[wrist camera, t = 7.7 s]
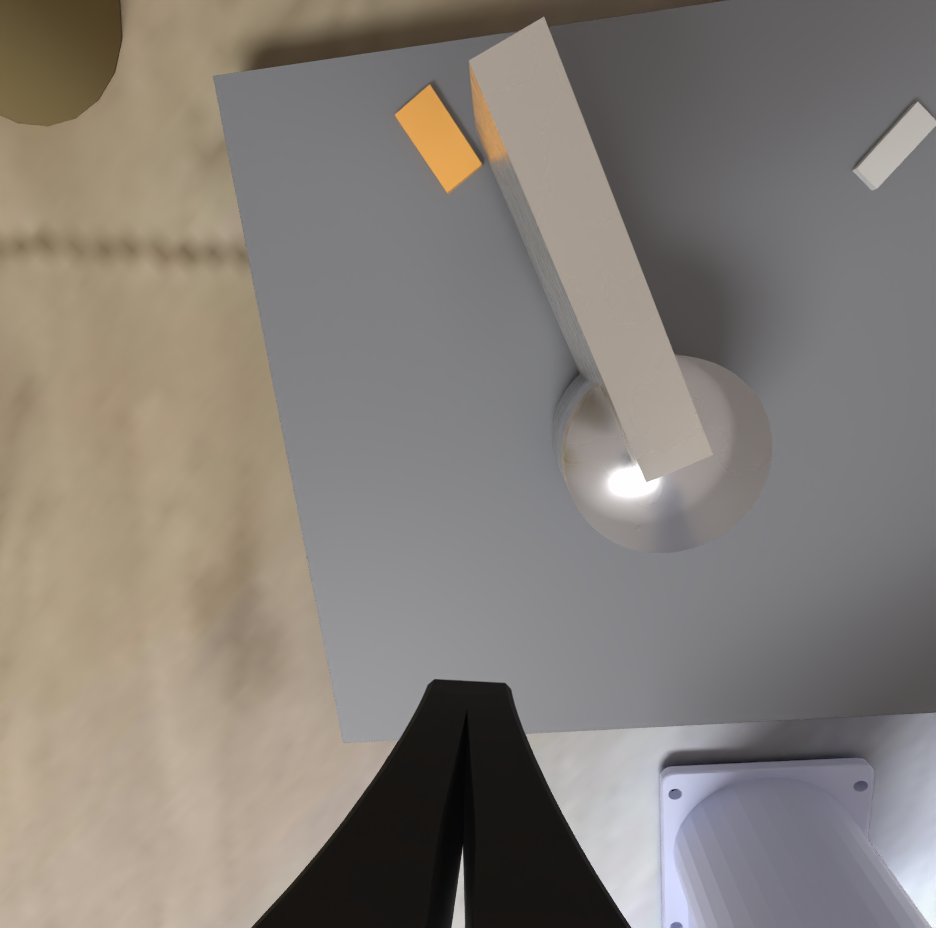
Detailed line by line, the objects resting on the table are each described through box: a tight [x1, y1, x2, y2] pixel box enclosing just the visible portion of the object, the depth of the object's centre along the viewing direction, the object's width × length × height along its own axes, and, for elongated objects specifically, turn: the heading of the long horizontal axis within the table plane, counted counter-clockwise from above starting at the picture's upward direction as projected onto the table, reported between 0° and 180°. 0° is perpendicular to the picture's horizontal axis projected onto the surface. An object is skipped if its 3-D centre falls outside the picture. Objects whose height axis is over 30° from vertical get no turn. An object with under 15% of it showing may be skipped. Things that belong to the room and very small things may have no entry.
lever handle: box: [469, 17, 772, 553], centre depth 14 cm, size 12×5×4 cm, turn 26°
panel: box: [213, 0, 936, 743], centre depth 17 cm, size 22×22×2 cm
